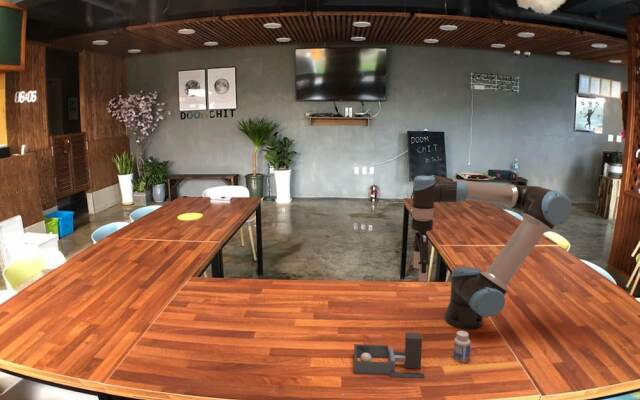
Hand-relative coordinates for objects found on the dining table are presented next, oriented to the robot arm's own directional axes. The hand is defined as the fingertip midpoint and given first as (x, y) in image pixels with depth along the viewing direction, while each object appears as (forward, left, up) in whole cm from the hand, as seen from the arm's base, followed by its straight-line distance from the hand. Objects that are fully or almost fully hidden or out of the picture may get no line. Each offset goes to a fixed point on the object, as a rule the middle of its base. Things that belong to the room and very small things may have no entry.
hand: (419, 274), depth 165 cm
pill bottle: (-14, +12, -27) cm, 33 cm away
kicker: (+7, +18, -26) cm, 33 cm away
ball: (+20, +18, -25) cm, 36 cm away
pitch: (+13, +18, -27) cm, 35 cm away
